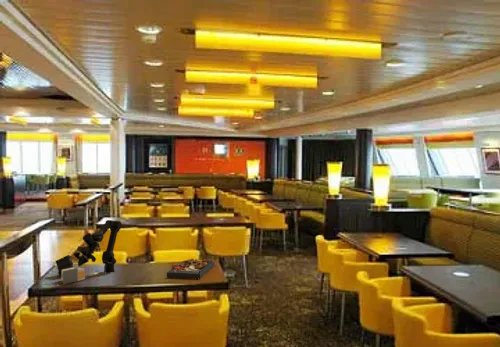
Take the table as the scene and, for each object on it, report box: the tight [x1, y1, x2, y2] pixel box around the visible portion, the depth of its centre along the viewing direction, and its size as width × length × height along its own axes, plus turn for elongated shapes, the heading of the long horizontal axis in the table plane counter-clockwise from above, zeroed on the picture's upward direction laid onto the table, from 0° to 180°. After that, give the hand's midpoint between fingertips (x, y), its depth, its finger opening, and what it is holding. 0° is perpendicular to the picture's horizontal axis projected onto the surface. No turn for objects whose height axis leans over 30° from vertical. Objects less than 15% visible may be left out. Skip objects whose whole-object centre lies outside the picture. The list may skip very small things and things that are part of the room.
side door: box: [62, 263, 80, 285], centre depth 342 cm, size 11×3×12 cm, turn 146°
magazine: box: [54, 254, 74, 277], centre depth 364 cm, size 4×13×15 cm, turn 78°
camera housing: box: [61, 266, 86, 282], centre depth 350 cm, size 13×10×8 cm
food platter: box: [166, 258, 216, 280], centre depth 378 cm, size 45×25×10 cm, turn 170°
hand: (77, 266), depth 346 cm, fingers closed
